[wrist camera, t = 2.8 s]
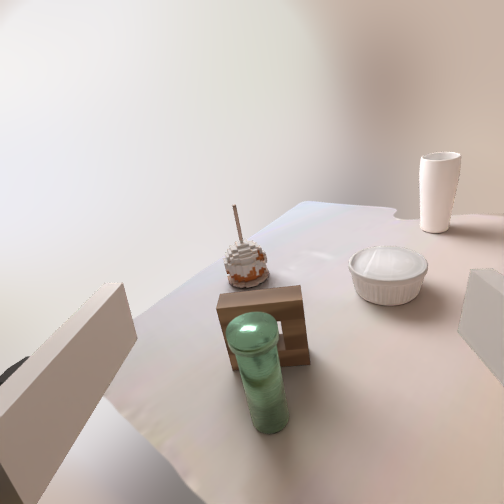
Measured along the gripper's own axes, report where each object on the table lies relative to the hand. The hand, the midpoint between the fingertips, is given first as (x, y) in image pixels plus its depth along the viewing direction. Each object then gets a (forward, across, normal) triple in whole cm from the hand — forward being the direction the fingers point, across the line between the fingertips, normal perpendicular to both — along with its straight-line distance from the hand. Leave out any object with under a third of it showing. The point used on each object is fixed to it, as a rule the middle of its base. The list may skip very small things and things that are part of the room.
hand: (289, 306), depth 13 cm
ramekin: (+36, +16, -20) cm, 44 cm away
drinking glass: (+55, +32, -18) cm, 66 cm away
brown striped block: (+23, -2, -23) cm, 32 cm away
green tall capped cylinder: (+19, -2, -23) cm, 30 cm away
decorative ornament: (+44, -6, -22) cm, 49 cm away
